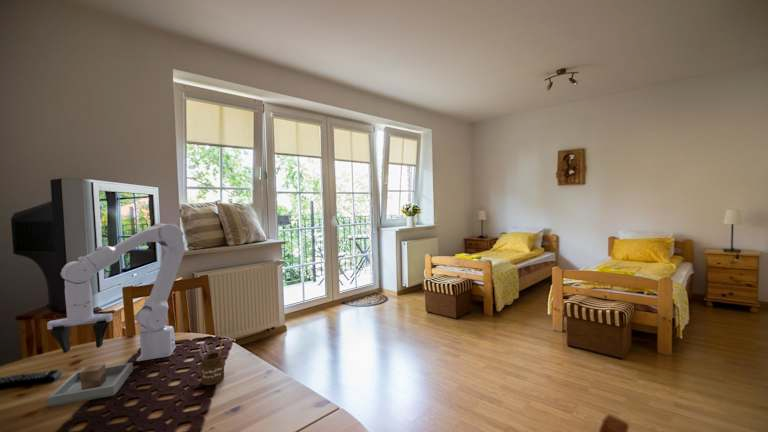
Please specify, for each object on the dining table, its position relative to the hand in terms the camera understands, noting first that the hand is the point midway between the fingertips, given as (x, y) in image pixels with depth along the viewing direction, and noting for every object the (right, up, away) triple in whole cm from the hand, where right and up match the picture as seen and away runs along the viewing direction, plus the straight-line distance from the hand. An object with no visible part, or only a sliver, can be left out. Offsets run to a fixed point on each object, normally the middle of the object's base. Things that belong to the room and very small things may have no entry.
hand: (83, 348), depth 99 cm
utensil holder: (+39, -8, -3) cm, 40 cm away
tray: (+7, -9, -4) cm, 12 cm away
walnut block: (+7, -8, -4) cm, 12 cm away
